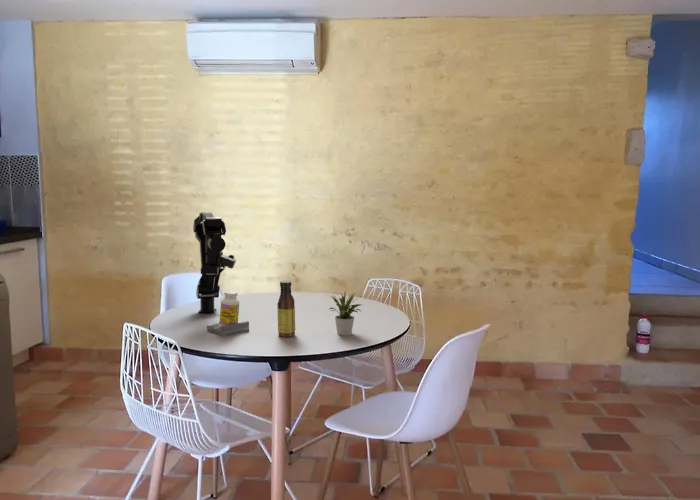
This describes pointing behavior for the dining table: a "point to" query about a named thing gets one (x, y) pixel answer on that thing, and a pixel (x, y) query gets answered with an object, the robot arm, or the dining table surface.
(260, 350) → the dining table surface
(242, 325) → the coupler plate
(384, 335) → the dining table surface
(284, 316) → the sauce bottle
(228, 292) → the supplement bottle
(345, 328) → the house plant
